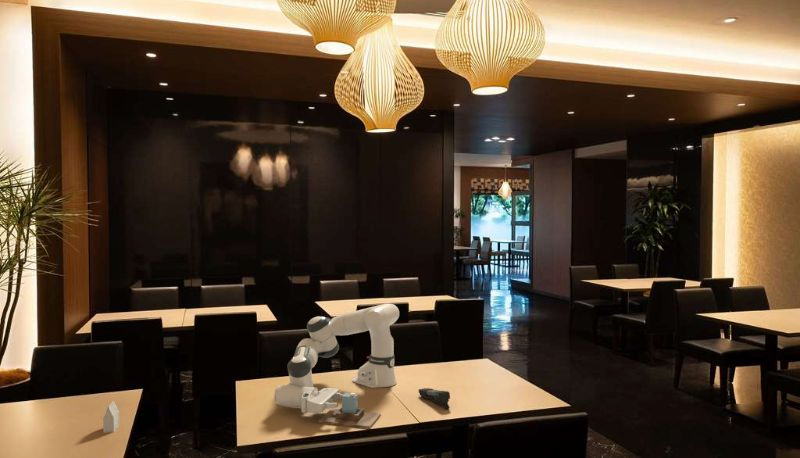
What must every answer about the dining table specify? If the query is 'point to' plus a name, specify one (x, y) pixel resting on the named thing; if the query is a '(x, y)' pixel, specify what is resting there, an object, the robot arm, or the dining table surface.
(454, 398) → the dining table surface
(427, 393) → the gun
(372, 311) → the robot arm
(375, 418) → the walnut board
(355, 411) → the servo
